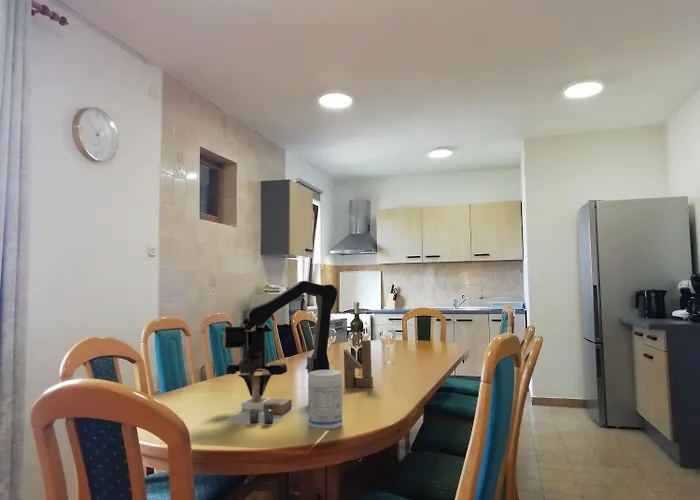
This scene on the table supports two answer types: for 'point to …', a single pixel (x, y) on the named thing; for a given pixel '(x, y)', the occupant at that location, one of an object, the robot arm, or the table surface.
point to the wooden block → (358, 367)
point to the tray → (254, 404)
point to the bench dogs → (255, 416)
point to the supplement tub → (325, 399)
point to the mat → (244, 418)
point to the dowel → (256, 388)
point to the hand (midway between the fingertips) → (256, 396)
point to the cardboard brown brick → (279, 406)
